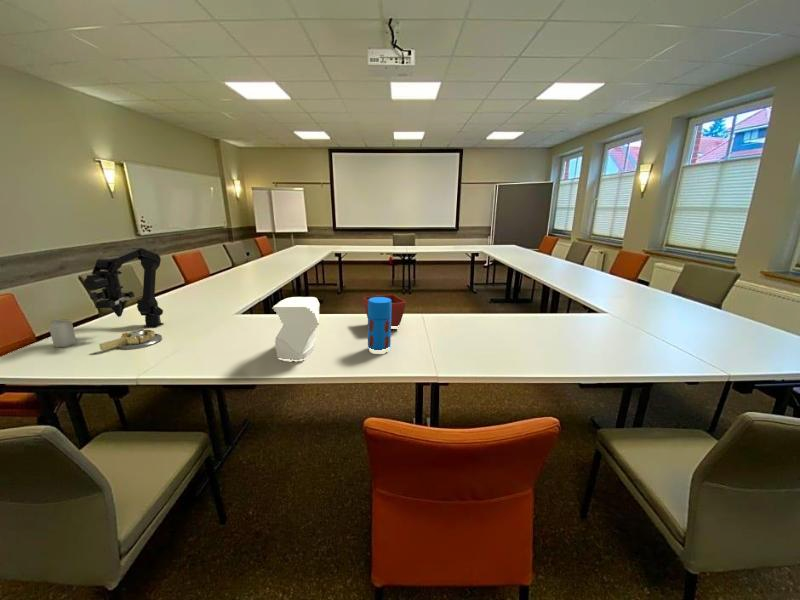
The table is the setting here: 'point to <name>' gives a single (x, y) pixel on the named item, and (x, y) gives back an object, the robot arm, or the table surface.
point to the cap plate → (140, 345)
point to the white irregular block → (297, 327)
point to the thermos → (379, 323)
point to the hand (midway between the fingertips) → (119, 316)
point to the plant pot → (396, 308)
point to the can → (62, 333)
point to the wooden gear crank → (128, 339)
